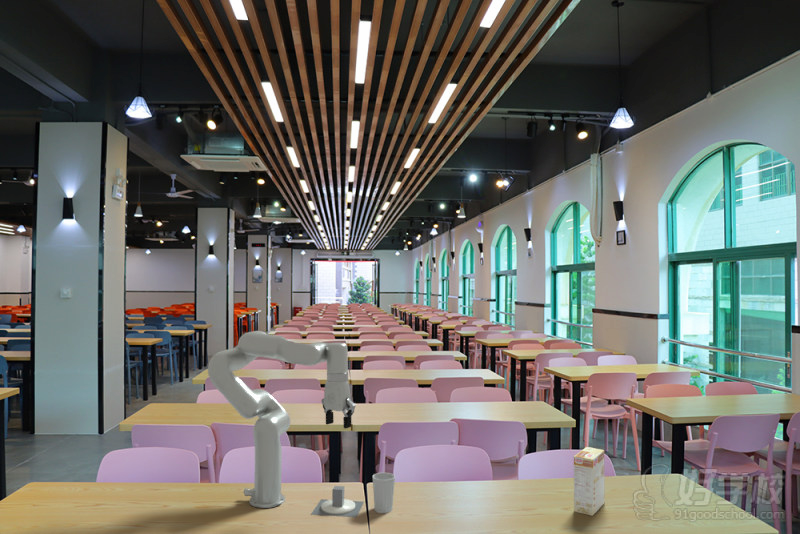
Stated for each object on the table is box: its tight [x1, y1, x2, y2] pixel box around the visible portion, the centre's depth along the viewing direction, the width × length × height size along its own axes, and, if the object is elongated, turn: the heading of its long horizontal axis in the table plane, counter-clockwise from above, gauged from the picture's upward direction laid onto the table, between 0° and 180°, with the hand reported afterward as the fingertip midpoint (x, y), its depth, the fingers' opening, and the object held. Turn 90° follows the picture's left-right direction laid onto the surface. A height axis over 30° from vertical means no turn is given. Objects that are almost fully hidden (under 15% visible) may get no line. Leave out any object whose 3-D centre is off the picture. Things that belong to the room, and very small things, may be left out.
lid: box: [321, 485, 355, 515], centre depth 202 cm, size 12×12×7 cm
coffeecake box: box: [573, 446, 606, 517], centre depth 206 cm, size 15×7×20 cm, turn 145°
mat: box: [310, 498, 365, 518], centre depth 202 cm, size 16×14×1 cm
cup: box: [372, 472, 396, 514], centre depth 201 cm, size 8×8×12 cm
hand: (338, 425), depth 205 cm, fingers open, 9 cm apart
